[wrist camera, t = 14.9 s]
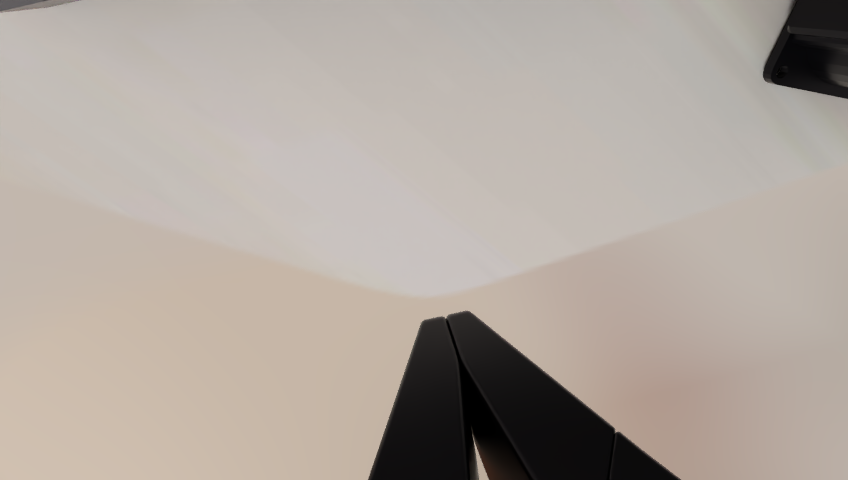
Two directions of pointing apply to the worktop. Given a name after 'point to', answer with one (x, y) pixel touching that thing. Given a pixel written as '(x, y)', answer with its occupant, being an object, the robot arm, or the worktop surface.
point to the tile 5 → (29, 4)
